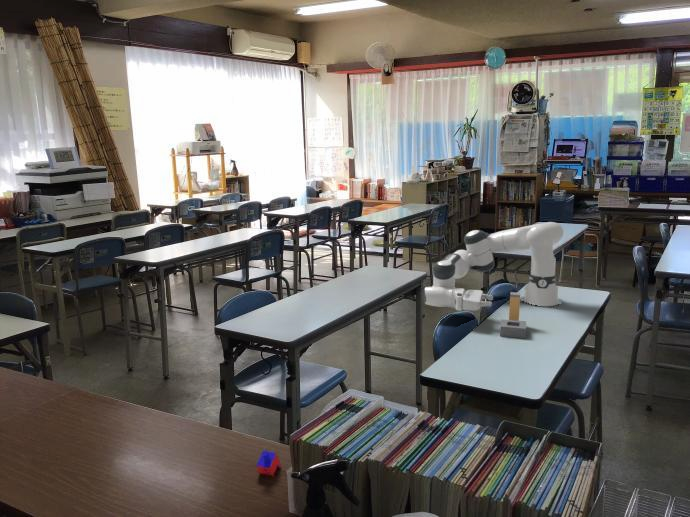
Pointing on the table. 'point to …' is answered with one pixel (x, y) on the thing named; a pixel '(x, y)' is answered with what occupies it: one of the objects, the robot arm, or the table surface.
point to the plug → (514, 306)
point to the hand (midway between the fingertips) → (492, 300)
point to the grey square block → (513, 328)
